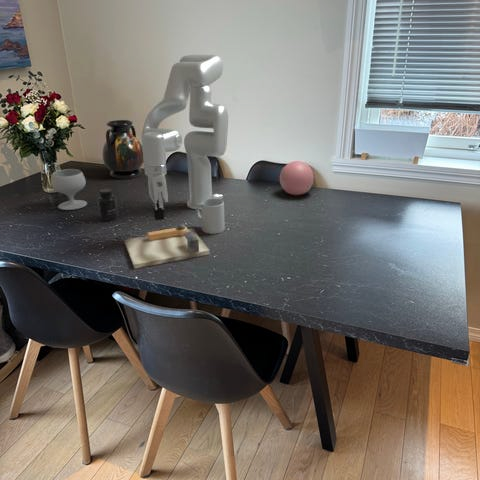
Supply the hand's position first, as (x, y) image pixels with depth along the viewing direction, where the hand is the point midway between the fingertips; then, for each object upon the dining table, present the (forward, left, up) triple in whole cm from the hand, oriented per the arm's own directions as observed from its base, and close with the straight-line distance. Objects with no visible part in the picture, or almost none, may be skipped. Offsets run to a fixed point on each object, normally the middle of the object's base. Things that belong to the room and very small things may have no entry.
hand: (159, 219), depth 155 cm
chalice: (+28, -47, -7) cm, 55 cm away
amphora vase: (-1, -85, -7) cm, 85 cm away
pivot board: (+1, +12, -7) cm, 14 cm away
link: (-2, +5, -5) cm, 7 cm away
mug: (-19, +1, -7) cm, 20 cm away
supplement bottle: (+15, -25, -7) cm, 30 cm away
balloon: (-70, -22, -7) cm, 73 cm away
